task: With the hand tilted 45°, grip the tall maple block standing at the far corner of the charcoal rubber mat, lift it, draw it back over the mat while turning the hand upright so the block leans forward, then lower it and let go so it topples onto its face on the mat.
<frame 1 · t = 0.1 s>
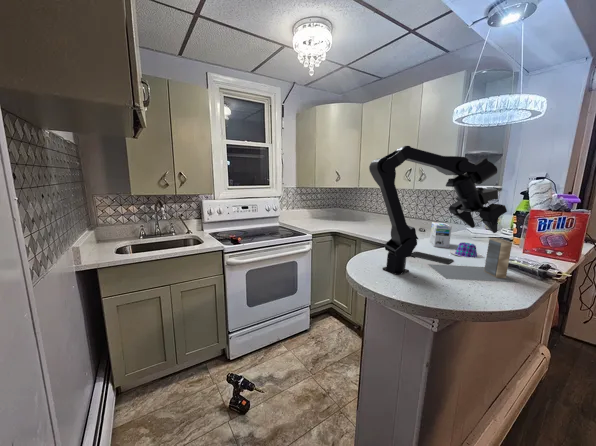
hand: (483, 229, 87), 15 cm above the counter, tool tilted 35°, fingers open, 9 cm apart
purple checkered dome: (465, 255, 109), on the counter
light bulb box: (438, 245, 125), on the counter
rubber mat: (469, 273, 86), on the counter
phone: (430, 260, 102), on the counter
maple block: (494, 274, 84), resting on rubber mat
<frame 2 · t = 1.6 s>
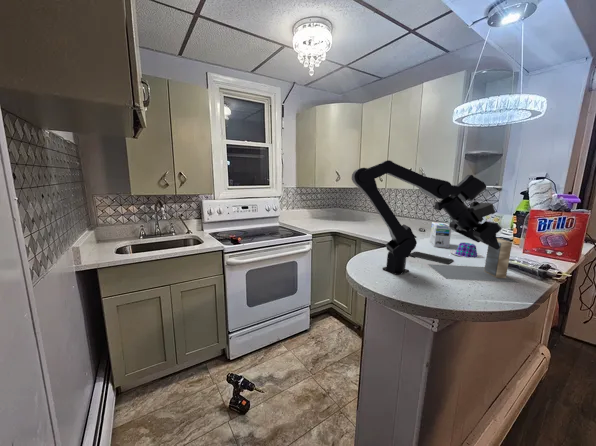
hand: (488, 244, 83), 11 cm above the counter, tool tilted 45°, fingers open, 9 cm apart
nothing on the counter moved.
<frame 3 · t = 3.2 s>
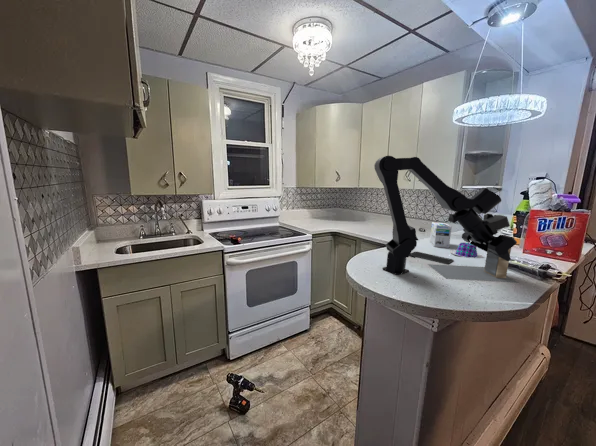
hand: (501, 257, 83), 7 cm above the counter, tool tilted 45°, fingers closed on maple block, 6 cm apart
maple block: (494, 274, 84), resting on rubber mat, touching gripper
everything else where it was.
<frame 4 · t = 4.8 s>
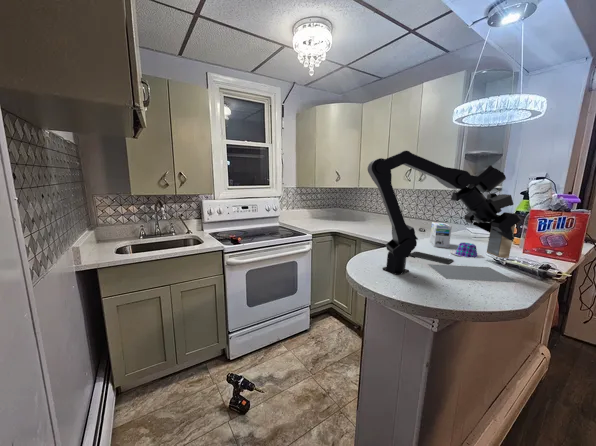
hand: (505, 237, 82), 13 cm above the counter, tool tilted 45°, fingers closed on maple block, 6 cm apart
maple block: (497, 255, 83), point 7 cm above the counter, touching gripper
everything else where it was.
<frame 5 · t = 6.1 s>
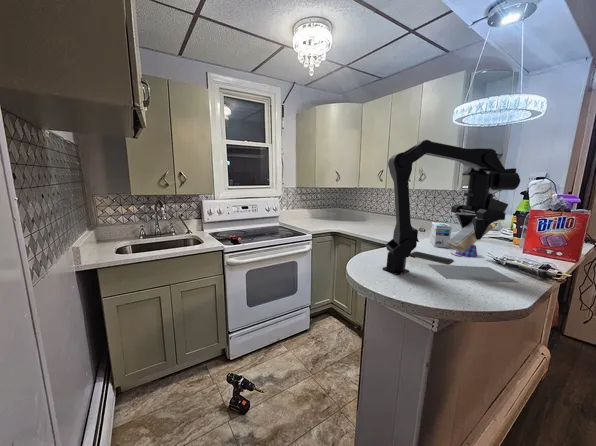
hand: (472, 237, 83), 13 cm above the counter, tool pointing down, fingers closed on maple block, 6 cm apart
maple block: (454, 247, 84), point 9 cm above the counter, tilted 44°, touching gripper
everything else where it was.
when the fingers open (6 cm above the counter, at t = 8.3 s): maple block moves 2 cm and tips over, resting on rubber mat.
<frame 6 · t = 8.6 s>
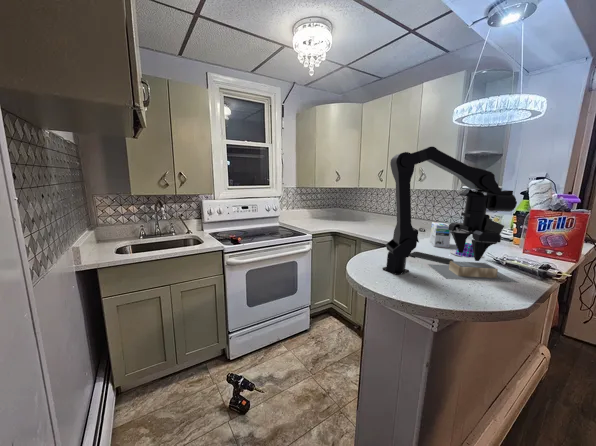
hand: (468, 256, 84), 6 cm above the counter, tool pointing down, fingers open, 9 cm apart
maple block: (453, 268, 85), point 2 cm above the counter, tilted 90°, touching rubber mat
everything else where it was.
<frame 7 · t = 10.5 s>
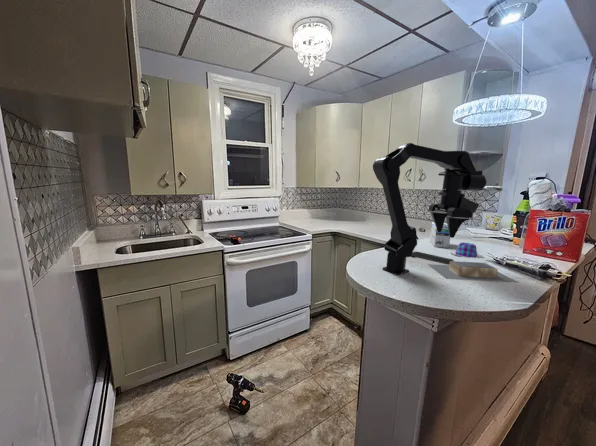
hand: (445, 234, 87), 13 cm above the counter, tool pointing down, fingers open, 9 cm apart
nothing on the counter moved.
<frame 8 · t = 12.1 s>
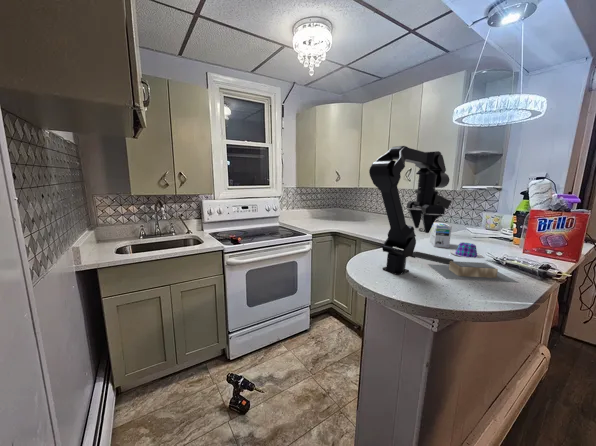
hand: (421, 230, 92), 13 cm above the counter, tool pointing down, fingers open, 9 cm apart
nothing on the counter moved.
at the end: maple block tilted 90°; maple block touching rubber mat; the gripper is holding nothing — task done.
